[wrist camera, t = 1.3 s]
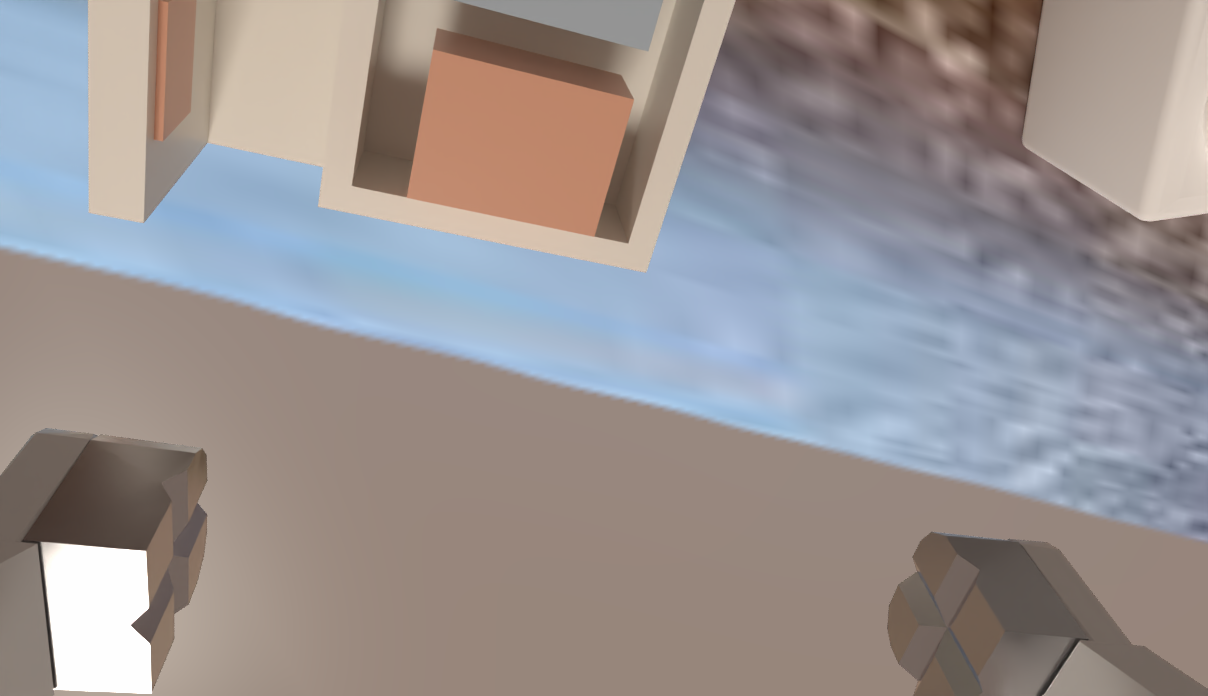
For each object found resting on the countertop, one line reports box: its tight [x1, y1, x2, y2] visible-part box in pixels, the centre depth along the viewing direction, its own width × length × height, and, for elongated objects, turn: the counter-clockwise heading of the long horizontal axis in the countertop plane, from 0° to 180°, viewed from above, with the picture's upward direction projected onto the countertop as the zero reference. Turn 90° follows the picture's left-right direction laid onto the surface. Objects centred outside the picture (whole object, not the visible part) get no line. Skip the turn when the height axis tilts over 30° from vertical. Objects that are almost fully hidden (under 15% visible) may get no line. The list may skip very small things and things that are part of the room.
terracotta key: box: [407, 28, 634, 237], centre depth 24 cm, size 5×4×2 cm
